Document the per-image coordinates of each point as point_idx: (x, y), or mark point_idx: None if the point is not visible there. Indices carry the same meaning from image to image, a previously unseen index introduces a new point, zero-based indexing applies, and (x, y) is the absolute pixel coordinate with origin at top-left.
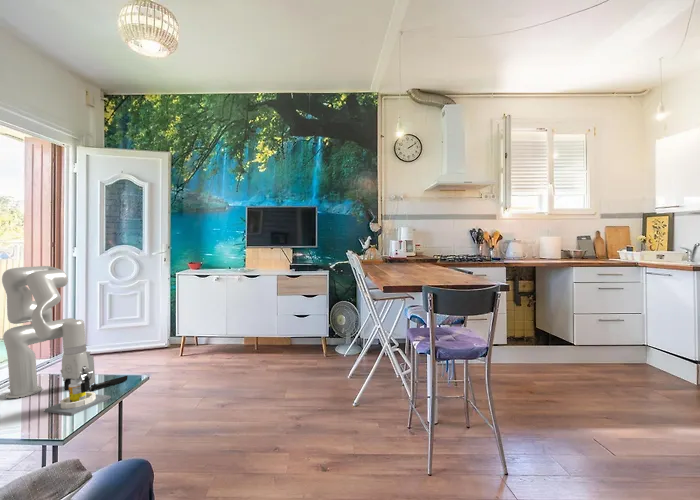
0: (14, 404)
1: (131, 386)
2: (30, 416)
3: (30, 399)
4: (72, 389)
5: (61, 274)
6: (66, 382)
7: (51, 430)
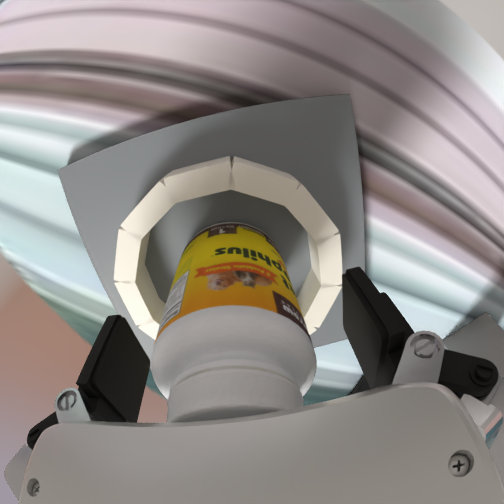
0: None
1: None
2: (344, 27)
3: None
4: (179, 300)
5: None
6: (378, 337)
7: None
